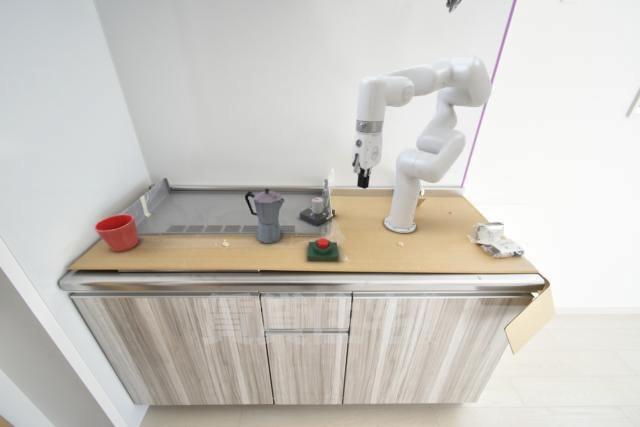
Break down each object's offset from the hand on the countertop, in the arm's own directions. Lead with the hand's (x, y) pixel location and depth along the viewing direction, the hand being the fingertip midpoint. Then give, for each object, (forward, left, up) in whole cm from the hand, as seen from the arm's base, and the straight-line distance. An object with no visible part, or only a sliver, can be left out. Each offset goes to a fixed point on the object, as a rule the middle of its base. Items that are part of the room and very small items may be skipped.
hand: (362, 186), depth 77 cm
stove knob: (-6, -24, -20) cm, 32 cm away
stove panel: (-6, -24, -23) cm, 34 cm away
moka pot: (+18, -28, -23) cm, 41 cm away
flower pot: (+55, -62, -23) cm, 86 cm away
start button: (+12, -6, -20) cm, 24 cm away
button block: (+12, -6, -23) cm, 27 cm away
